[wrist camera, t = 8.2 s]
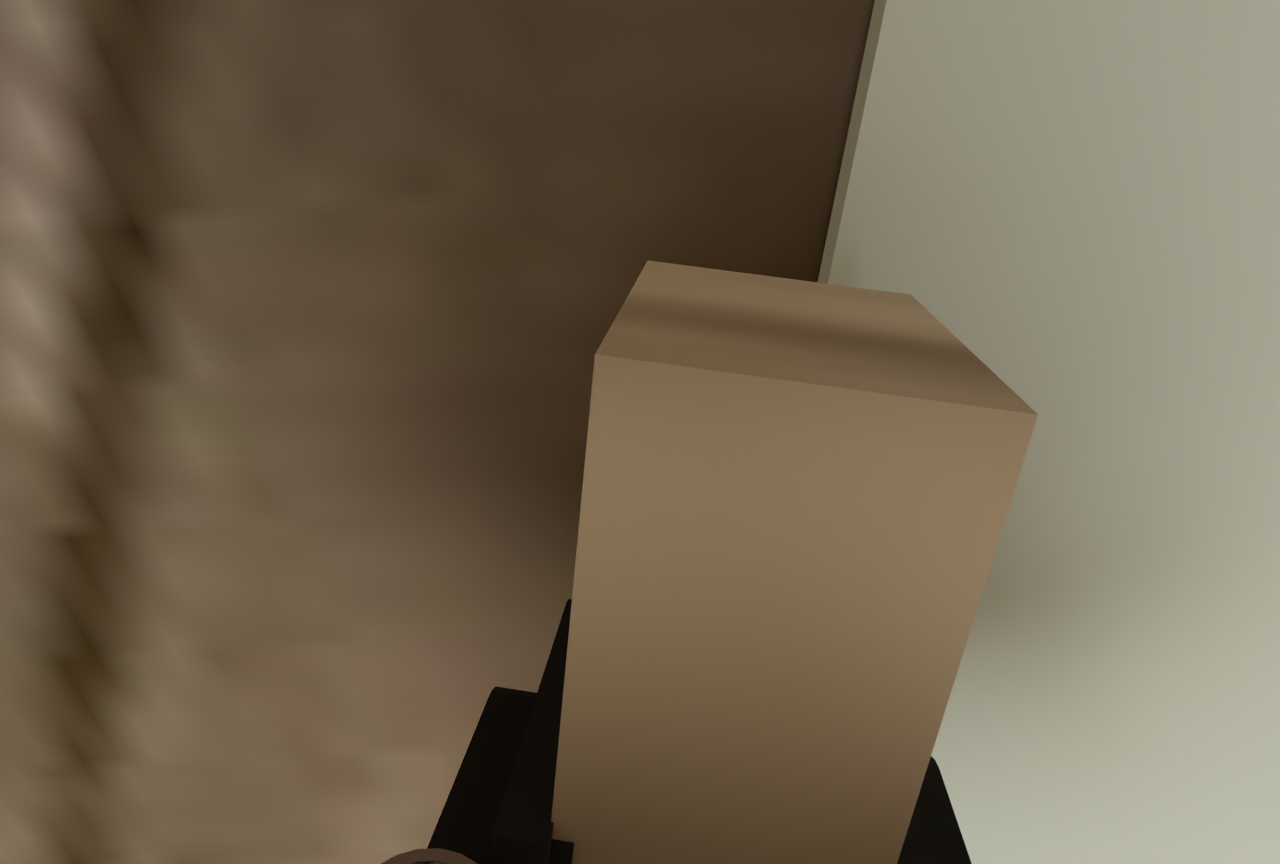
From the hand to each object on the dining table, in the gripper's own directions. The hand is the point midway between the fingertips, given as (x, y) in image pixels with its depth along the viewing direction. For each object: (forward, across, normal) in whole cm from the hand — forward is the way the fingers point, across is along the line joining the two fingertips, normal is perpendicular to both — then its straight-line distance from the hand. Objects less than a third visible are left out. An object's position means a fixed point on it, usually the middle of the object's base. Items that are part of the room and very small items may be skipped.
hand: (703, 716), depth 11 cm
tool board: (+4, -6, 0) cm, 7 cm away
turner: (0, 0, +4) cm, 4 cm away
